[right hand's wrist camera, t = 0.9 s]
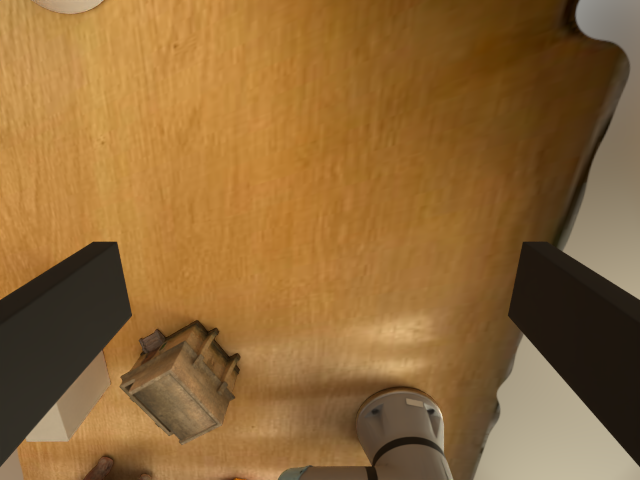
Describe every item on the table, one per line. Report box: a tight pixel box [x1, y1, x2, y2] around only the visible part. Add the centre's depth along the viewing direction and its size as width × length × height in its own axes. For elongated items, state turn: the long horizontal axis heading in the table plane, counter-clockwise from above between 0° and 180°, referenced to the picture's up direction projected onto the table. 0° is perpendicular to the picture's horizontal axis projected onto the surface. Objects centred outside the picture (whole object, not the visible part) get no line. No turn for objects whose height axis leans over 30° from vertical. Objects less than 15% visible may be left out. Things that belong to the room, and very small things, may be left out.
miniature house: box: [119, 321, 240, 445], centre depth 57 cm, size 15×14×11 cm
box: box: [26, 350, 111, 442], centre depth 55 cm, size 21×6×12 cm, turn 0°
